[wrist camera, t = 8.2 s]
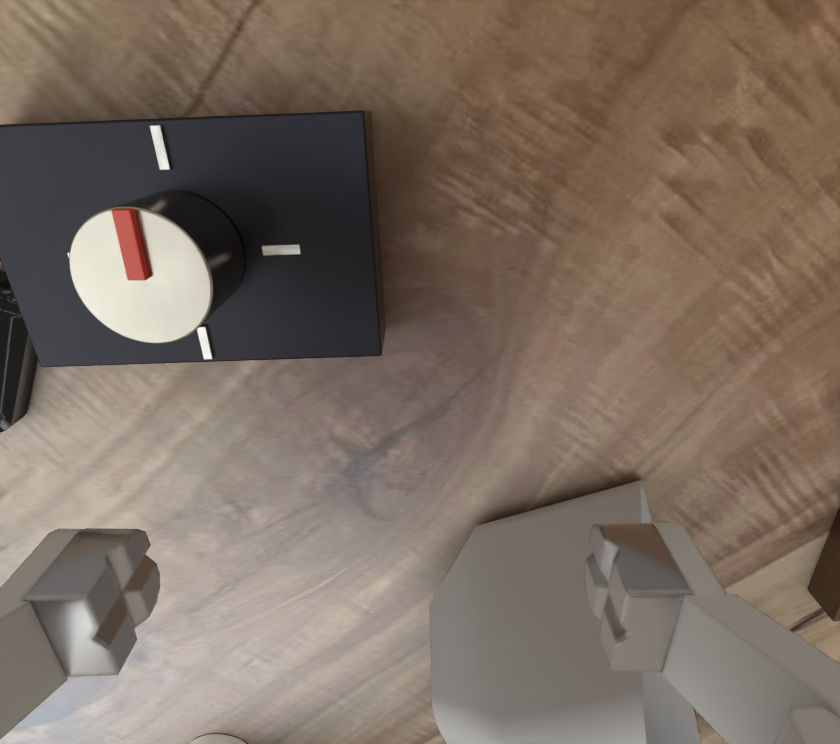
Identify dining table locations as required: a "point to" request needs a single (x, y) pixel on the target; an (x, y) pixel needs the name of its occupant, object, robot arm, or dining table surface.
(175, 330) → the knob
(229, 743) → the white tapered cylinder
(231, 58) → the dining table surface
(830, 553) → the button block
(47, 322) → the panel
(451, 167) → the dining table surface
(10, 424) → the phone
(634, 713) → the grey storage bin
